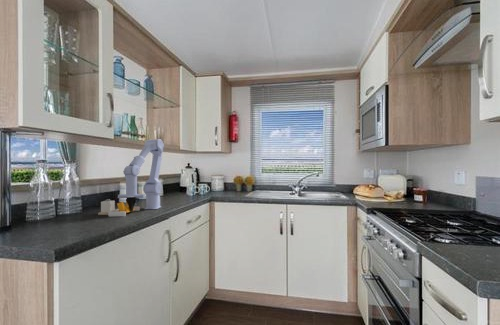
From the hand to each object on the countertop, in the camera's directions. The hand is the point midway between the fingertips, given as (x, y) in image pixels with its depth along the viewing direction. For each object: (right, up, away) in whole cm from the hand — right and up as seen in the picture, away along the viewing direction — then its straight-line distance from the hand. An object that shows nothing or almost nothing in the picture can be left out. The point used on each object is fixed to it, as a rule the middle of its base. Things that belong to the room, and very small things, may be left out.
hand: (131, 210), depth 141 cm
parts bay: (-3, -2, 0) cm, 4 cm away
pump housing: (-13, -2, 0) cm, 13 cm away
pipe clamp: (-2, -1, -1) cm, 3 cm away
